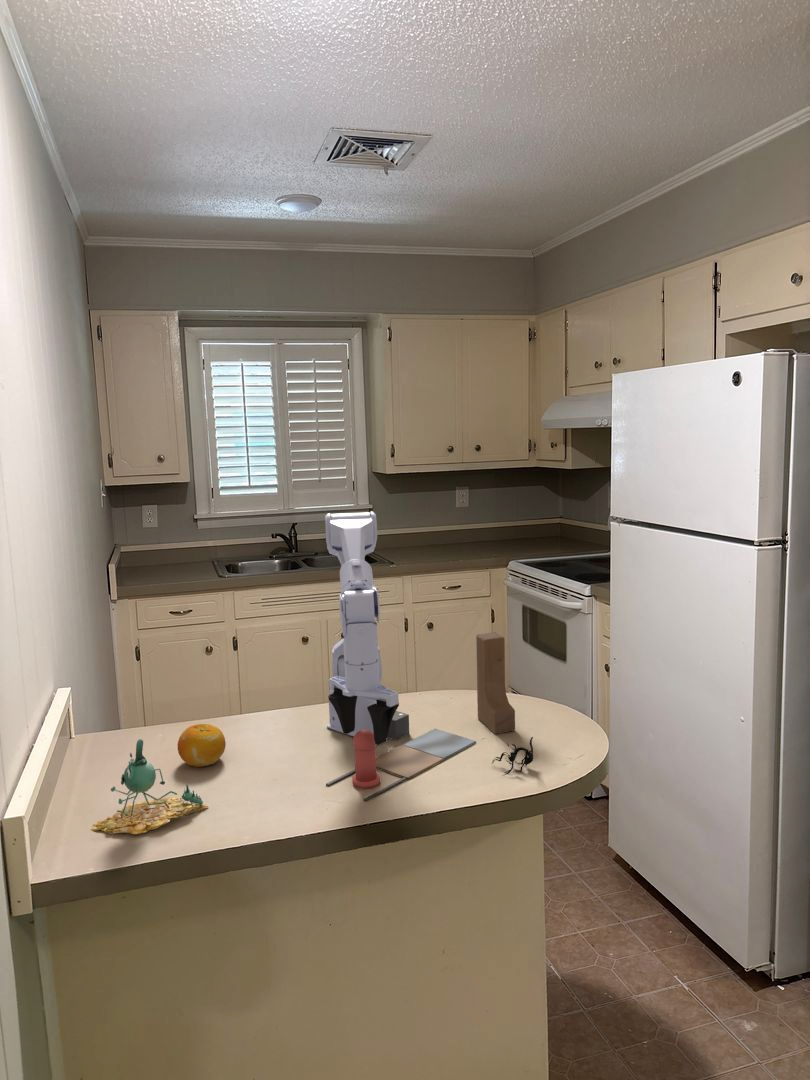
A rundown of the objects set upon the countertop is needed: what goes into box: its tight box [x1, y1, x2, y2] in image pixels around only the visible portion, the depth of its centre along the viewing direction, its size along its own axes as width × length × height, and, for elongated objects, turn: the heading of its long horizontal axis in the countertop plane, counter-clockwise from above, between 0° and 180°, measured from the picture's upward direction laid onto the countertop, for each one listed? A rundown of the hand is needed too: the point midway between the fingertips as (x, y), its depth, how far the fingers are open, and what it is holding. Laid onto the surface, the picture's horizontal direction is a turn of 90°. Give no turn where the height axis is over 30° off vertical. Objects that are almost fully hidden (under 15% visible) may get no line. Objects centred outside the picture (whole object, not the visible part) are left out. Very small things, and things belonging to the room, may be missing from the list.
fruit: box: [177, 723, 227, 768], centre depth 146 cm, size 8×8×8 cm
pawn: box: [351, 729, 381, 790], centre depth 136 cm, size 5×5×10 cm
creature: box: [491, 736, 534, 776], centre depth 140 cm, size 8×5×8 cm
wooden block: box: [475, 632, 516, 735], centre depth 158 cm, size 9×4×18 cm, turn 17°
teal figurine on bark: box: [91, 738, 209, 835], centre depth 124 cm, size 10×18×15 cm, turn 100°
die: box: [387, 710, 410, 741], centre depth 156 cm, size 4×4×4 cm
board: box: [325, 728, 477, 803], centre depth 144 cm, size 10×30×1 cm, turn 139°
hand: (364, 737), depth 135 cm, fingers open, 7 cm apart
